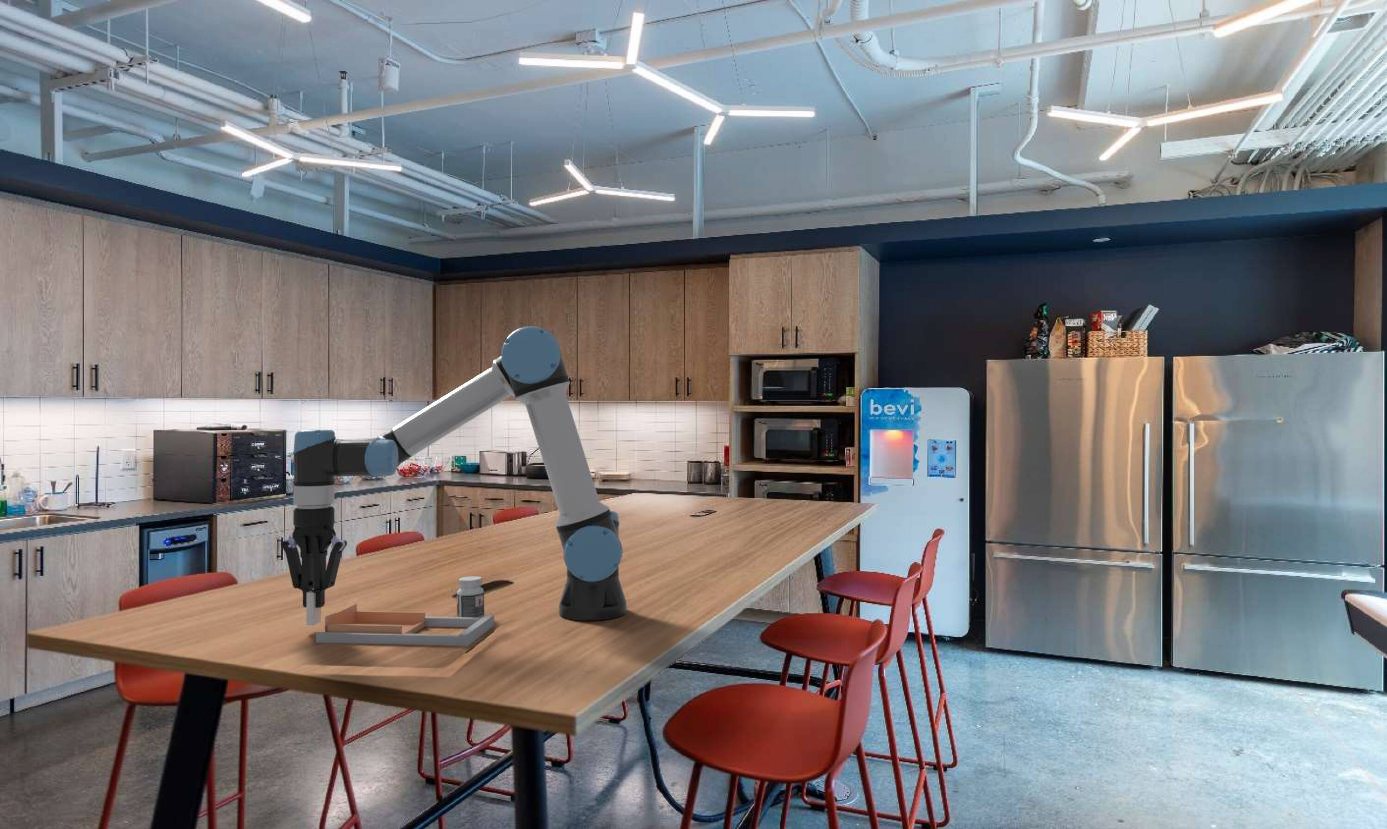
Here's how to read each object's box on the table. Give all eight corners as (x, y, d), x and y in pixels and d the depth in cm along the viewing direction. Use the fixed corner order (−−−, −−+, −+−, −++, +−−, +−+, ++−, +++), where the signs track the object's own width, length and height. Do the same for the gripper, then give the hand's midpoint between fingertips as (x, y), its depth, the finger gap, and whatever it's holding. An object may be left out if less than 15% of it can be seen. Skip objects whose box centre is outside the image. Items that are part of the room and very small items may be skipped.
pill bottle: (490, 622, 176) (489, 576, 176) (472, 629, 171) (472, 581, 171) (469, 620, 179) (469, 574, 179) (451, 626, 173) (450, 579, 173)
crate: (425, 626, 168) (425, 604, 168) (400, 641, 157) (400, 618, 157) (354, 625, 169) (354, 603, 169) (325, 639, 158) (325, 616, 158)
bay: (493, 631, 169) (493, 614, 169) (467, 652, 154) (467, 634, 154) (354, 629, 171) (354, 612, 171) (315, 649, 156) (315, 631, 156)
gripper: (354, 504, 168) (354, 619, 167) (294, 503, 169) (293, 618, 169) (335, 508, 160) (334, 629, 160) (272, 507, 161) (271, 627, 161)
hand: (313, 623), depth 164 cm, fingers closed
